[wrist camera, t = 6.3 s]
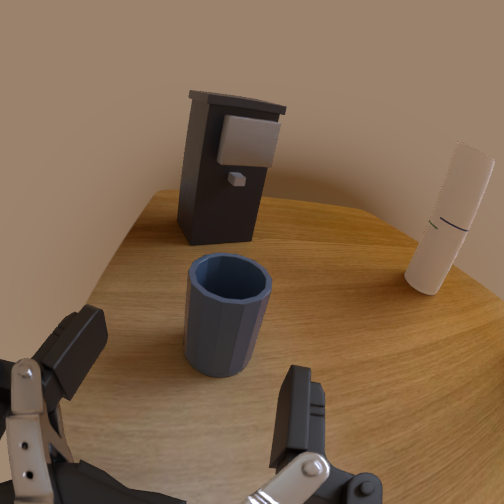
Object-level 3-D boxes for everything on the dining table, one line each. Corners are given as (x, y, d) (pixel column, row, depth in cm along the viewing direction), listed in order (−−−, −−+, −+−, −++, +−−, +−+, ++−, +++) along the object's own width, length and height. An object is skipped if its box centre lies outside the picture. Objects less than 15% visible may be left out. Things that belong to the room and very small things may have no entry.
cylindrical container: (427, 299, 42) (490, 156, 30) (397, 275, 47) (451, 137, 35) (442, 289, 46) (498, 163, 33) (415, 268, 51) (464, 145, 38)
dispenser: (173, 219, 48) (189, 90, 38) (233, 216, 54) (256, 99, 43) (190, 253, 41) (213, 94, 30) (260, 247, 46) (293, 108, 35)
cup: (213, 389, 23) (228, 316, 19) (170, 342, 27) (172, 265, 22) (264, 356, 28) (289, 284, 23) (220, 318, 31) (233, 245, 27)
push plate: (216, 161, 35) (224, 114, 32) (265, 164, 39) (275, 121, 36) (220, 165, 34) (229, 116, 31) (271, 167, 38) (281, 123, 35)
